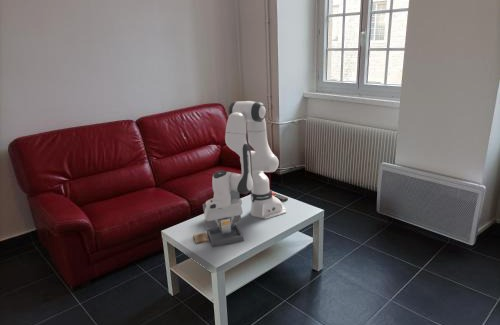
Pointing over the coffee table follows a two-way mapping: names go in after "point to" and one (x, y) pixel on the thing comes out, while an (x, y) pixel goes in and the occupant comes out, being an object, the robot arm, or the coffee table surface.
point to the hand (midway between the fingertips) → (224, 224)
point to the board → (201, 238)
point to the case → (225, 236)
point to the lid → (213, 223)
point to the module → (225, 225)
